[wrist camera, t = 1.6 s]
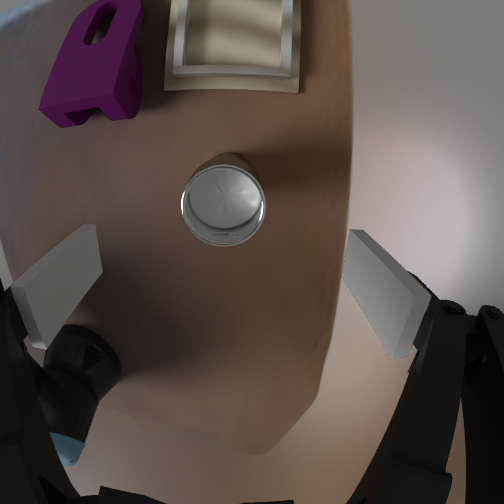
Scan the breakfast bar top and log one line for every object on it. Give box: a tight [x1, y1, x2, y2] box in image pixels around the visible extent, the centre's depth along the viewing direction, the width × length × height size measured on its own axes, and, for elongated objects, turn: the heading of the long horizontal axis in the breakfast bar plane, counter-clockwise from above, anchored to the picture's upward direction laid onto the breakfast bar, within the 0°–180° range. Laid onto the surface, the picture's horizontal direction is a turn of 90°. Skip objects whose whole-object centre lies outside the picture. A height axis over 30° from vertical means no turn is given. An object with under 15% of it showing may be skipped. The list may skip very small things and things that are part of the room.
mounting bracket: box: [38, 0, 144, 128], centre depth 27 cm, size 10×8×18 cm
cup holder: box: [164, 0, 301, 94], centre depth 27 cm, size 16×16×4 cm
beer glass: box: [181, 153, 266, 247], centre depth 29 cm, size 7×7×15 cm
